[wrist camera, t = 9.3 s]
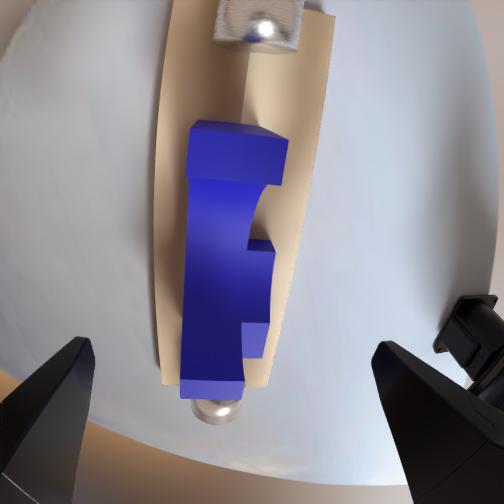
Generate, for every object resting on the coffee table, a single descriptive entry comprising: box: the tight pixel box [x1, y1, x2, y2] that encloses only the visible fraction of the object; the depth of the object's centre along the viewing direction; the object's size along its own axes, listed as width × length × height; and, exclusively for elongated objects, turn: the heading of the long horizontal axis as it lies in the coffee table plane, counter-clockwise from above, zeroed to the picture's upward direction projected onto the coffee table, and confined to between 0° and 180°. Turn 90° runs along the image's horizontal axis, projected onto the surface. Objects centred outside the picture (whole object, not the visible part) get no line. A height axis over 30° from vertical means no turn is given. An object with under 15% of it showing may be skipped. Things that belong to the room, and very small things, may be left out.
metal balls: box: [191, 0, 305, 425], centre depth 15 cm, size 4×25×4 cm, turn 173°
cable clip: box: [180, 120, 289, 400], centre depth 14 cm, size 12×4×6 cm, turn 172°
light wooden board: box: [154, 0, 335, 387], centre depth 17 cm, size 8×25×1 cm, turn 173°
